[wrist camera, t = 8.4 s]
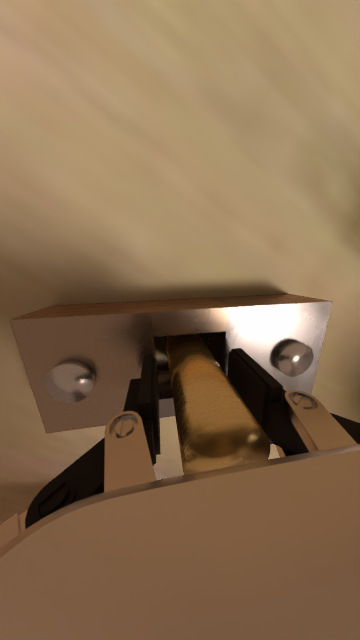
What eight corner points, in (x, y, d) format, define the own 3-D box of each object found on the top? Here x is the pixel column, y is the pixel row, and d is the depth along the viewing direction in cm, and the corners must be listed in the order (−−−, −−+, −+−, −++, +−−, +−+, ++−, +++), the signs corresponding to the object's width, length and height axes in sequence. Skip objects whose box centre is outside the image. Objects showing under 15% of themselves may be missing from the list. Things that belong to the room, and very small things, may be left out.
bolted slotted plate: (288, 293, 16) (341, 302, 11) (277, 370, 18) (316, 402, 13) (52, 305, 13) (0, 323, 9) (73, 392, 15) (40, 441, 11)
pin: (200, 325, 15) (276, 416, 6) (200, 357, 16) (264, 482, 7) (164, 327, 15) (181, 430, 5) (166, 360, 16) (183, 498, 6)
